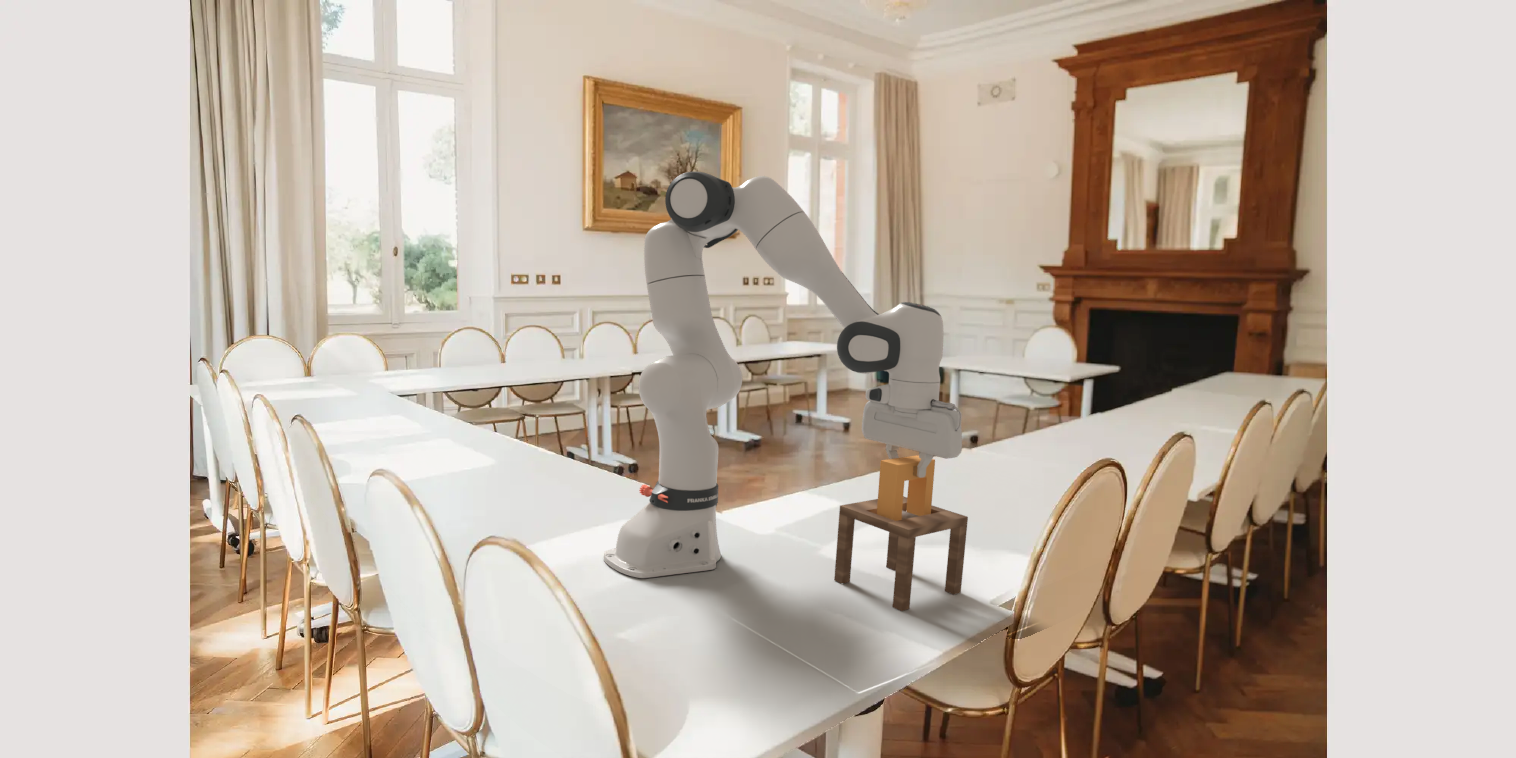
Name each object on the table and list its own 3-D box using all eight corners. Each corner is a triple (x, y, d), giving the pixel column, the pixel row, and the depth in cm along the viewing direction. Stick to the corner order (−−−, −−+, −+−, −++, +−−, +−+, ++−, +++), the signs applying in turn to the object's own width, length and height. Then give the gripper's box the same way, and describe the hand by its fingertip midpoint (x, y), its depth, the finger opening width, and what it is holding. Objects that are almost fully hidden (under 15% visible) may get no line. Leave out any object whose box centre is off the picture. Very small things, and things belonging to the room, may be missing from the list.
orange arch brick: (892, 533, 142) (898, 465, 141) (875, 526, 145) (880, 460, 144) (929, 524, 148) (935, 459, 147) (912, 519, 151) (917, 455, 150)
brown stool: (901, 611, 137) (908, 529, 135) (834, 580, 149) (839, 505, 147) (960, 592, 147) (967, 516, 145) (893, 565, 159) (899, 495, 158)
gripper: (973, 404, 138) (966, 484, 140) (882, 387, 154) (877, 460, 155) (950, 406, 134) (943, 488, 136) (859, 389, 150) (853, 463, 151)
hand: (907, 473), depth 146 cm, fingers closed on orange arch brick, 4 cm apart
